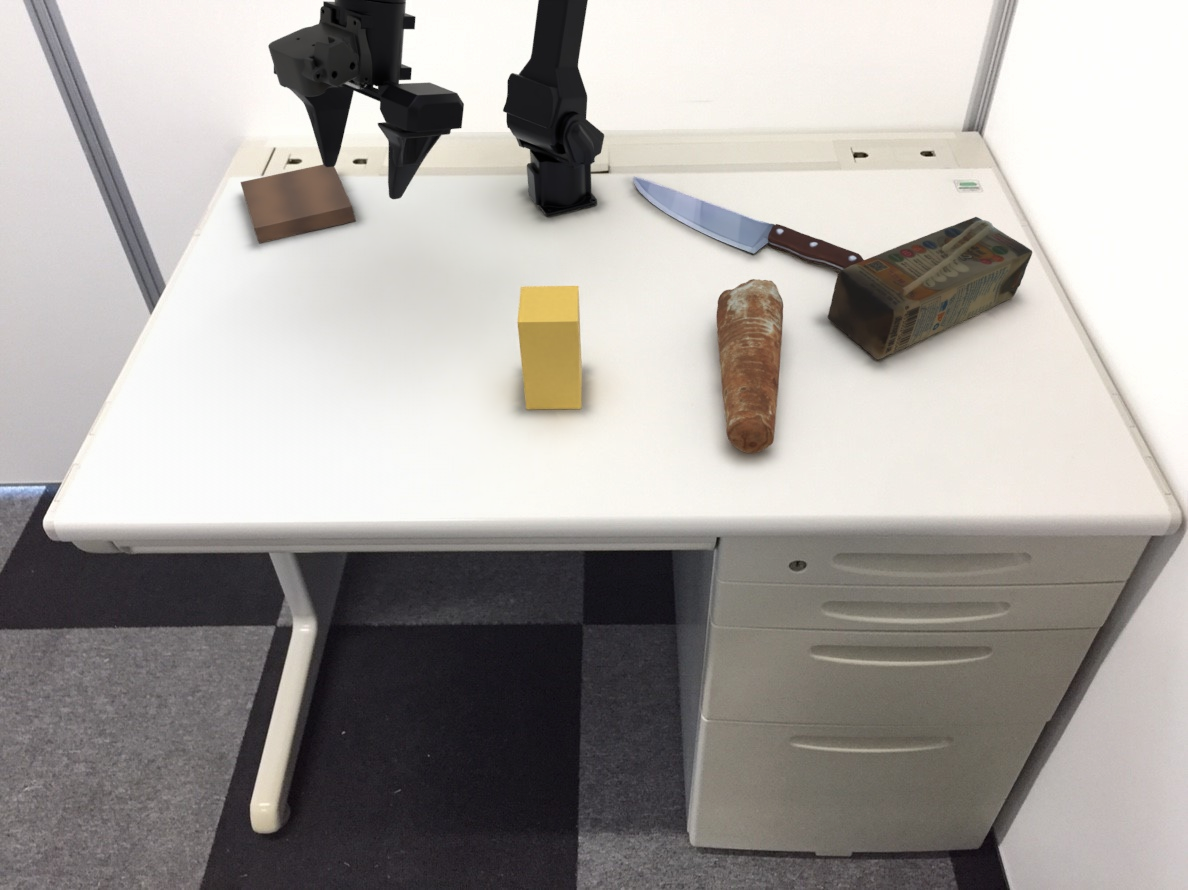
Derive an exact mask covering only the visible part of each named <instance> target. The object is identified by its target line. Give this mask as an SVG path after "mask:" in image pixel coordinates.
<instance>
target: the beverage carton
mask: <svg viewBox="0 0 1188 890" xmlns="http://www.w3.org/2000/svg"><path fill="white" fill-rule="evenodd" d="M1032 255H1033V250H1032V249H1030V248H1028V247H1027V246H1026V245H1024V244H1023V243H1021V242H1019V241H1018V240H1016V239H1014V238H1012V237H1011V236H1010V235H1007V234H1006V233H1004V232H1003V231H1001V230H1000V229H998V228H997V227H995V226H994V225H993V224H992V222H990V221H989V220H986V219H982V218H981V217H978V216H974V217H971V218H969V219H966V220H963V221H961V222H957V223H956V224H954V225H951V226H947V227H945V228H942V229H939V230H937V231H934V232H931V233H929V234H927V235H924V236H921V237H919V238H916V239H913V240H911V241H909V242H906V243H903V244H901V245H899V246H896V247H894V248H891V249H888V250H886V251H883V252H881V253H879V254H876V255H874V256H870V257H868V258H866V259H863V261H861V262H859V263H856V264H854V265H851V266H849V267H847V268H845V269H843V270H840V271H839V270H838V273H837V277H836V279H835V284H834V288H833V293H832V298H831V302H830V306H829V309H828V315H827V319H828V320H829V321H830V322H831V323H833V324H834V326H836V327H837V328H838V329H840V330H841V331H843V332H844V333H845V334H846V335H847V336H848V337H850V338H851V339H852V340H853V341H854V342H855V343H856V344H857V345H858V346H860V347H861V348H862V349H864V351H866V352H867V353H869V354H870V355H871V356H872V357H873V358H874V359H875V360H881V359H883V358H885V357H887V356H890V355H892V354H894V353H897V352H898V351H901V350H903V349H905V348H908V347H910V346H911V345H914V344H916V343H918V342H921V341H922V340H925V339H927V338H929V337H932V336H933V335H935V334H938V333H940V332H942V331H944V330H946V329H948V328H950V327H953V326H955V325H956V324H959V323H961V322H964V321H966V320H967V319H970V318H972V317H975V316H977V315H979V314H980V313H983V312H985V311H987V310H989V309H991V308H993V307H995V306H997V305H999V304H1002V303H1003V302H1005V301H1007V300H1010V299H1012V298H1014V296H1015V295H1016V293H1017V291H1018V289H1019V287H1020V286H1021V284H1022V280H1023V279H1024V277H1025V273H1026V270H1027V267H1028V265H1029V262H1030V261H1031V260H1030V259H1031V258H1032Z"/></svg>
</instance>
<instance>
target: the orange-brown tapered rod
mask: <svg viewBox="0 0 1188 890" xmlns="http://www.w3.org/2000/svg"><path fill="white" fill-rule="evenodd" d="M715 315H716V328H717V331H716V332H717V345H718V353H719V354H718V355H719V366H720V367H719V368H720V380H721V389H722V391H721V393H722V402H723V410H724V419H725V431H726V437H727V440H728V441H729V443H730V444H731V445H732V446H734V447H735V448H736V449H738V450H739V451H741V452H744V453H746V454H757V453H759V452H762V451H764V450H765V449H767V448H769V447H770V446H772V445H773V443H774V440H775V439H774V438H775V432H776V431H775V429H776V417H777V415H776V414H777V406H778V393H779V381H780V367H781V351H782V337H783V323H784V300H783V298H782V296H781V294H780V292H779V289H778V287H777V284H776V283H774V282H773V280H767V279H755V278H752V279H749V280H748V281H746V282H743V283H740V284H739V285H738V286H735V288H732V289H726V290H723V291H722V292H721V294H720V295H719V297H718V299H717V308H716V314H715Z"/></svg>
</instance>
